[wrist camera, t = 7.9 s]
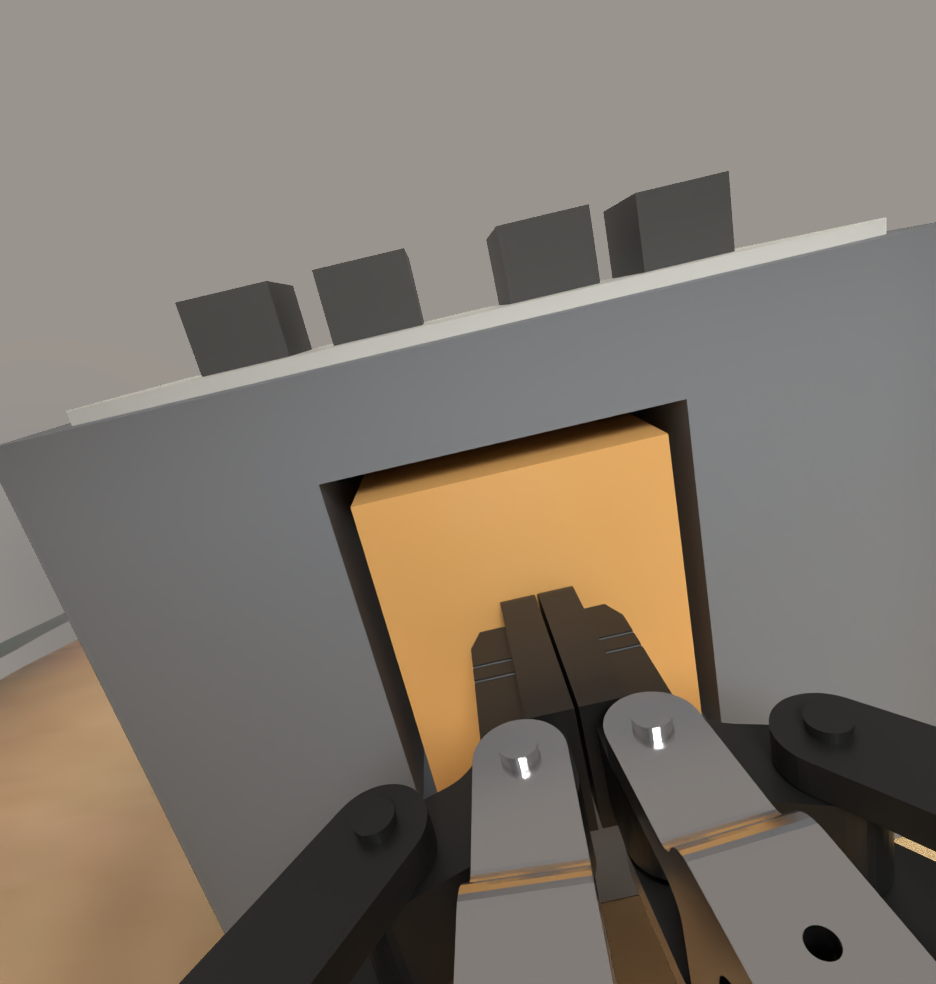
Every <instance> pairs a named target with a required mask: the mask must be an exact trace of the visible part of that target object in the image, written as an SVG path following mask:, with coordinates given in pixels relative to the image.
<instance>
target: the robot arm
mask: <svg viewBox="0 0 936 984" xmlns="http://www.w3.org/2000/svg"><path fill="white" fill-rule="evenodd" d="M537 597H538V603H539V605H538V603H537V600H536V597H535V595H530V596H525V597H521V598H517V599H512V600H508V601H503V602H500V605H501V609H502V614H503V619H504V623H505V627H501V628H496V629H492V630H487V631H483V632H480V633H479V635H478V637H477V639H476V640H475V642H474V644H473V646H472V648H471V654H472V664H473V674H474V682H475V693H476V703H477V713H478V722H479V732H480V742H479V743H478V745H477V747H476V748H475V751H474V754H473V765H472V766H471V768H470V769H469V770H468V771H467V772H466V773H465V774H464V775H463V776H462V777H461V778H460V779H459V780H458V781H456V782H455V783H454V784H452V785H450V786H449V787H447V788H445V789H443V790H441V791H439V792H437V793H435V794H434V795H432V796H430V797H428V798H426V799H423V798H422V796H421V795H420V794H419V793H418V792H417V791H416V790H414V789H413V788H411V787H408V786H405V785H400V784H386V785H381V786H377V787H374V788H371V789H369V790H367V791H364V792H362V793H361V794H359V795H357V796H356V797H354V798H353V799H352V800H350V801H349V802H348V803H347V804H346V805H345V806H344V807H343V808H342V809H341V810H340V811H339V812H338V813H337V814H336V815H335V816H334V817H333V818H332V819H331V821H330V822H329V823H328V824H327V825H326V826H325V827H324V828H323V829H322V830H321V831H320V832H319V833H318V835H317V836H316V837H315V838H314V839H313V840H312V841H311V842H310V843H309V844H308V845H307V846H306V847H305V849H304V850H303V851H302V852H301V853H300V854H299V855H298V856H297V857H296V858H295V859H294V860H293V861H292V863H291V864H290V865H289V866H288V867H287V868H286V869H285V870H284V871H283V872H282V873H281V874H280V875H279V877H278V878H277V879H276V880H275V881H274V882H273V883H272V884H271V885H270V886H269V887H268V888H267V890H266V891H265V892H264V893H263V894H262V895H261V896H260V897H259V898H258V899H257V900H256V901H255V902H254V904H253V905H252V906H251V907H250V908H249V909H248V910H247V911H246V912H245V913H244V914H243V915H242V916H241V918H240V919H239V920H238V921H237V922H236V923H235V924H234V925H233V926H232V927H231V928H230V929H229V930H228V932H227V933H226V934H225V935H224V936H223V937H222V938H221V939H220V940H219V941H218V942H217V943H216V944H215V946H214V947H213V948H212V949H211V950H210V951H209V952H208V953H207V954H206V955H205V956H204V957H203V958H202V960H201V961H200V962H199V963H198V964H197V965H196V966H195V967H194V968H193V969H192V970H191V971H190V973H189V974H188V975H187V976H186V977H185V978H184V979H183V980H182V981H181V982H180V983H179V984H616V979H615V974H614V969H613V964H612V959H611V954H610V949H609V944H608V939H607V934H606V929H605V924H604V919H603V914H602V908H601V903H600V898H599V893H598V888H597V883H596V879H595V874H596V858H595V852H594V848H593V843H592V838H591V833H590V832H591V831H596V830H599V829H598V824H597V819H596V814H595V809H594V804H593V800H594V803H595V806H596V809H597V812H598V815H599V819H600V822H601V825H602V828H608V827H613V826H617V825H618V827H619V830H620V833H621V836H622V839H623V841H624V844H625V849H626V854H627V859H628V865H629V870H630V874H631V877H632V879H633V882H634V884H635V886H636V889H637V891H638V893H639V895H640V898H641V900H642V902H643V905H644V907H645V909H646V912H647V914H648V916H649V919H650V921H651V923H652V926H653V928H654V930H655V933H656V935H657V937H658V939H659V942H660V944H661V946H662V949H663V951H664V953H665V956H666V958H667V960H668V963H669V965H670V967H671V970H672V972H673V974H674V977H675V979H676V981H677V983H678V984H936V862H935V861H933V860H931V859H929V858H927V857H924V856H922V855H920V854H918V853H916V852H914V851H911V850H909V849H907V848H905V847H903V846H901V845H898V844H896V843H894V833H896V834H898V835H900V836H903V837H905V838H907V839H909V840H912V841H914V842H916V843H918V844H920V845H923V846H925V847H927V848H929V849H931V850H934V851H936V726H933V725H930V724H927V723H923V722H920V721H917V720H914V719H911V718H908V717H905V716H902V715H899V714H895V713H892V712H889V711H886V710H883V709H880V708H877V707H874V706H871V705H867V704H864V703H861V702H858V701H855V700H852V699H849V698H845V697H842V696H838V695H832V694H826V693H804V694H797V695H794V696H790V697H788V698H785V699H783V700H782V701H780V702H779V703H777V704H776V705H775V706H774V707H773V709H772V711H771V712H770V715H769V725H764V724H732V723H722V722H717V721H713V720H709V719H705V718H703V716H702V715H701V714H700V712H699V711H698V710H697V709H696V708H695V707H694V706H693V705H692V704H690V703H689V702H688V701H686V700H684V699H682V698H681V697H678V696H675V695H673V694H672V693H671V691H670V690H669V688H668V687H667V685H666V683H665V682H664V680H663V678H662V677H661V675H660V674H659V672H658V670H657V669H656V667H655V666H654V664H653V662H652V661H651V659H650V657H649V656H648V654H647V653H646V651H645V649H644V648H643V646H641V643H640V641H639V640H638V638H637V636H636V635H635V633H633V630H632V628H631V627H630V625H629V623H628V622H627V620H626V619H625V617H624V615H623V614H621V613H619V612H618V611H616V610H614V609H613V608H611V607H609V606H607V605H606V604H602V605H597V606H593V607H588V608H583V606H582V604H581V602H580V599H579V597H578V595H577V593H576V591H575V589H574V588H573V586H569V587H564V588H560V589H556V590H551V591H547V592H542V593H538V594H537ZM539 607H540V608H539ZM592 797H593V799H592Z"/></svg>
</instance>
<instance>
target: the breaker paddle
mask: <svg viewBox="0 0 936 984" xmlns="http://www.w3.org/2000/svg"><path fill="white" fill-rule="evenodd" d="M351 511H352V514H353V517H354V521H355V524H356V527H357V530H358V534H359V537H360V540H361V544H362V547H363V550H364V553H365V557H366V560H367V563H368V566H369V570H370V573H371V576H372V580H373V583H374V586H375V589H376V593H377V596H378V599H379V602H380V606H381V609H382V612H383V616H384V619H385V622H386V625H387V629H388V632H389V635H390V638H391V642H392V645H393V648H394V652H395V655H396V658H397V661H398V665H399V668H400V671H401V675H402V678H403V681H404V684H405V688H406V691H407V694H408V697H409V701H410V704H411V707H412V711H413V714H414V717H415V720H416V724H417V727H418V730H419V733H420V737H421V740H422V743H423V747H424V750H425V753H426V756H427V760H428V763H429V766H430V769H431V773H432V776H433V779H434V783H435V786H436V789H437V792H439V791H441V790H443V789H445V788H447V787H449V786H450V785H452V784H454V783H455V782H456V781H458V780H459V779H460V778H461V777H462V776H463V775H464V774H465V773H466V772H467V771H468V770H469V769H470V768H471V766H472V765H473V754H474V751H475V748H476V747H477V745H478V743H479V742H480V732H479V722H478V713H477V703H476V693H475V682H474V674H473V664H472V654H471V648H472V646H473V644H474V642H475V640H476V639H477V637H478V635H479V633H480V632H483V631H487V630H492V629H496V628H501V627H505V623H504V619H503V614H502V609H501V605H500V602H503V601H508V600H512V599H517V598H521V597H525V596H530V595H535V597H536V600H537V603H538V597H537V594H538V593H542V592H547V591H551V590H556V589H560V588H564V587H569V586H573V588H574V589H575V591H576V593H577V595H578V597H579V599H580V602H581V604H582V606H583V608H588V607H593V606H597V605H602V604H606V605H607V606H609V607H611V608H613V609H614V610H616V611H618V612H619V613H621V614H623V615H624V617H625V619H626V620H627V622H628V623H629V625H630V627H631V628H632V630H633V633H635V635H636V636H637V638H638V640H639V641H640V643H641V646H643V648H644V649H645V651H646V653H647V654H648V656H649V657H650V659H651V661H652V662H653V664H654V666H655V667H656V669H657V670H658V672H659V674H660V675H661V677H662V678H663V680H664V682H665V683H666V685H667V687H668V688H669V690H670V691H671V693H672V694H673V695H675V696H678V697H681V698H682V699H684V700H686V701H688V702H689V703H690V704H692V705H693V706H694V707H695V708H696V709H697V710H698V711H699V712H700V714H701V715H702V712H701V704H700V696H699V687H698V679H697V671H696V662H695V654H694V645H693V637H692V629H691V620H690V612H689V604H688V595H687V587H686V579H685V570H684V562H683V554H682V545H681V537H680V528H679V520H678V512H677V503H676V495H675V487H674V478H673V470H672V462H671V453H670V445H669V437H668V433H666V432H664V431H662V430H660V429H658V428H656V427H654V426H652V425H651V424H649V423H647V422H645V421H643V420H641V419H639V418H637V417H635V416H633V415H632V414H630V413H625V414H620V415H616V416H612V417H607V418H603V419H599V420H594V421H590V422H586V423H582V424H577V425H573V426H569V427H564V428H560V429H556V430H552V431H547V432H543V433H539V434H534V435H530V436H526V437H521V438H517V439H513V440H509V441H504V442H500V443H496V444H491V445H487V446H483V447H478V448H474V449H470V450H466V451H461V452H457V453H453V454H448V455H444V456H440V457H435V458H431V459H427V460H423V461H418V462H414V463H410V464H405V465H401V466H397V467H392V468H388V469H384V470H380V471H375V472H371V473H367V474H365V475H364V477H363V479H362V482H361V484H360V486H359V489H358V491H357V493H356V496H355V498H354V500H353V503H352V505H351ZM538 605H539V603H538ZM539 608H540V607H539Z"/></svg>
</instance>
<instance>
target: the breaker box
mask: <svg viewBox="0 0 936 984" xmlns="http://www.w3.org/2000/svg"><path fill="white" fill-rule="evenodd" d="M604 219H605V226H606V234H607V241H608V248H609V255H610V263H611V270H612V277H613V278H609V279H605V280H601V281H600V279H599V272H598V265H597V258H596V251H595V244H594V237H593V231H592V223H591V218H590V210H589V205H584V206H579V207H575V208H571V209H567V210H563V211H558V212H555V213H550V214H546V215H542V216H538V217H533V218H529V219H525V220H521V221H517V222H512V223H508V224H504V225H500V226H496V227H495V229H494V230H493V232H492V233H491V234H490V236H489V237H488V238H487V245H488V250H489V255H490V260H491V265H492V271H493V275H494V279H495V286H496V290H497V295H498V301H499V305H495V306H490V307H486V308H482V309H478V310H473V311H469V312H465V313H461V314H456V315H452V316H448V317H444V318H439V319H435V320H431V321H427V322H424V320H423V316H422V312H421V308H420V303H419V299H418V295H417V291H416V287H415V283H414V278H413V274H412V270H411V266H410V262H409V258H408V256H407V254H406V252H405V250H404V249H399V250H395V251H391V252H387V253H382V254H378V255H374V256H370V257H365V258H361V259H357V260H353V261H349V262H344V263H340V264H336V265H332V266H328V267H323V268H319V269H315V270H312V272H313V274H314V279H315V282H316V285H317V289H318V292H319V296H320V299H321V303H322V306H323V310H324V313H325V317H326V320H327V324H328V327H329V330H330V334H331V338H332V341H333V344H329V345H325V346H321V347H317V348H311V345H310V341H309V338H308V335H307V332H306V328H305V325H304V321H303V318H302V315H301V311H300V308H299V305H298V302H297V298H296V295H295V291H294V288H293V286H290V285H285V284H279V283H274V282H269V281H265V282H261V283H256V284H252V285H248V286H244V287H240V288H235V289H231V290H227V291H223V292H219V293H215V294H210V295H207V296H202V297H198V298H193V299H189V300H185V301H181V302H177V303H176V306H177V309H178V312H179V314H180V317H181V320H182V323H183V326H184V328H185V331H186V334H187V337H188V339H189V342H190V345H191V347H192V350H193V353H194V356H195V359H196V361H197V364H198V367H199V370H200V372H201V375H198V376H194V377H190V378H186V379H183V380H179V381H175V382H171V383H168V384H164V385H160V386H156V387H153V388H149V389H145V390H142V391H138V392H134V393H131V394H127V395H123V396H119V397H116V398H112V399H108V400H105V401H101V402H97V403H94V404H90V405H86V406H82V407H79V408H75V409H72V410H68V411H66V413H67V416H68V418H69V420H70V423H69V424H66V425H63V426H59V427H56V428H53V429H50V430H47V431H43V432H40V433H37V434H33V435H30V436H27V437H23V438H20V439H17V440H14V441H11V442H7V443H4V444H1V445H0V483H1V485H2V487H3V489H4V491H5V493H6V495H7V497H8V499H9V501H10V503H11V505H12V507H13V509H14V511H15V513H16V515H17V517H18V519H19V521H20V523H21V525H22V527H23V529H24V531H25V533H26V535H27V537H28V539H29V541H30V543H31V545H32V547H33V549H34V551H35V553H36V555H37V557H38V559H39V561H40V563H41V565H42V567H43V569H44V571H45V573H46V575H47V577H48V579H49V581H50V583H51V585H52V587H53V589H54V591H55V593H56V595H57V597H58V599H59V601H60V603H61V605H62V607H63V609H64V611H65V614H66V616H67V618H68V620H69V622H70V624H71V626H72V627H73V630H74V632H75V634H76V635H77V638H78V640H79V642H80V644H81V646H82V648H83V650H84V652H85V654H86V656H87V658H88V660H89V662H90V664H91V666H92V668H93V670H94V672H95V674H96V676H97V678H98V680H99V682H100V684H101V686H102V688H103V690H104V692H105V694H106V696H107V698H108V700H109V702H110V704H111V706H112V708H113V710H114V712H115V714H116V716H117V718H118V720H119V722H120V724H121V726H122V728H123V730H124V732H125V734H126V736H127V738H128V740H129V742H130V744H131V746H132V748H133V750H134V752H135V754H136V756H137V758H138V760H139V762H140V764H141V766H142V768H143V770H144V772H145V774H146V776H147V778H148V780H149V782H150V784H151V786H152V788H153V790H154V792H155V794H156V796H157V798H158V800H159V802H160V804H161V806H162V809H163V811H164V813H165V815H166V817H167V819H168V821H169V823H170V825H171V827H172V829H173V831H174V833H175V835H176V837H177V839H178V841H179V843H180V845H181V847H182V849H183V851H184V853H185V855H186V857H187V859H188V861H189V863H190V865H191V867H192V869H193V871H194V873H195V875H196V877H197V879H198V881H199V883H200V885H201V887H202V889H203V891H204V893H205V895H206V897H207V899H208V901H209V903H210V905H211V907H212V909H213V911H214V913H215V915H216V917H217V919H218V921H219V923H220V925H221V927H222V929H223V931H224V933H225V934H226V933H227V932H228V930H229V929H230V928H231V927H232V926H233V925H234V924H235V923H236V922H237V921H238V920H239V919H240V918H241V916H242V915H243V914H244V913H245V912H246V911H247V910H248V909H249V908H250V907H251V906H252V905H253V904H254V902H255V901H256V900H257V899H258V898H259V897H260V896H261V895H262V894H263V893H264V892H265V891H266V890H267V888H268V887H269V886H270V885H271V884H272V883H273V882H274V881H275V880H276V879H277V878H278V877H279V875H280V874H281V873H282V872H283V871H284V870H285V869H286V868H287V867H288V866H289V865H290V864H291V863H292V861H293V860H294V859H295V858H296V857H297V856H298V855H299V854H300V853H301V852H302V851H303V850H304V849H305V847H306V846H307V845H308V844H309V843H310V842H311V841H312V840H313V839H314V838H315V837H316V836H317V835H318V833H319V832H320V831H321V830H322V829H323V828H324V827H325V826H326V825H327V824H328V823H329V822H330V821H331V819H332V818H333V817H334V816H335V815H336V814H337V813H338V812H339V811H340V810H341V809H342V808H343V807H344V806H345V805H346V804H347V803H348V802H349V801H350V800H352V799H353V798H354V797H356V796H357V795H359V794H361V793H362V792H364V791H367V790H369V789H371V788H374V787H377V786H381V785H386V784H400V785H405V786H408V787H411V788H413V789H414V790H416V791H417V792H418V793H419V794H420V795H421V796H422V798H423V799H426V798H428V797H430V796H432V795H434V794H435V793H437V789H436V786H435V783H434V779H433V776H432V773H431V769H430V766H429V763H428V760H427V756H426V753H425V750H424V747H423V743H422V740H421V737H420V733H419V730H418V727H417V724H416V720H415V717H414V714H413V711H412V707H411V704H410V701H409V697H408V694H407V691H406V688H405V684H404V681H403V678H402V675H401V671H400V668H399V665H398V661H397V658H396V655H395V652H394V648H393V645H392V642H391V638H390V635H389V632H388V629H387V625H386V622H385V619H384V616H383V612H382V609H381V606H380V602H379V599H378V596H377V593H376V589H375V586H374V583H373V580H372V576H371V573H370V570H369V566H368V563H367V560H366V557H365V553H364V550H363V547H362V544H361V540H360V537H359V534H358V530H357V527H356V524H355V521H354V517H353V514H352V511H351V505H352V503H353V500H354V498H355V496H356V493H357V491H358V489H359V486H360V484H361V482H362V479H363V477H364V475H365V474H367V473H371V472H375V471H380V470H384V469H388V468H392V467H397V466H401V465H405V464H410V463H414V462H418V461H423V460H427V459H431V458H435V457H440V456H444V455H448V454H453V453H457V452H461V451H466V450H470V449H474V448H478V447H483V446H487V445H491V444H496V443H500V442H504V441H509V440H513V439H517V438H521V437H526V436H530V435H534V434H539V433H543V432H547V431H552V430H556V429H560V428H564V427H569V426H573V425H577V424H582V423H586V422H590V421H594V420H599V419H603V418H607V417H612V416H616V415H620V414H625V413H630V414H632V415H633V416H635V417H637V418H639V419H641V420H643V421H645V422H647V423H649V424H651V425H652V426H654V427H656V428H658V429H660V430H662V431H664V432H666V433H668V437H669V445H670V453H671V462H672V470H673V478H674V487H675V495H676V503H677V512H678V520H679V528H680V537H681V545H682V554H683V562H684V570H685V579H686V587H687V595H688V604H689V612H690V620H691V629H692V637H693V645H694V654H695V662H696V671H697V679H698V687H699V696H700V704H701V712H702V716H703V718H705V719H709V720H713V721H717V722H722V723H732V724H764V725H769V715H770V712H771V711H772V709H773V707H774V706H775V705H776V704H777V703H779V702H780V701H782V700H783V699H785V698H788V697H790V696H794V695H797V694H804V693H826V694H832V695H838V696H842V697H845V698H849V699H852V700H855V701H858V702H861V703H864V704H867V705H871V706H874V707H877V708H880V709H883V710H886V711H889V712H892V713H895V714H899V715H902V716H905V717H908V718H911V719H914V720H917V721H920V722H923V723H927V724H930V725H933V726H936V222H935V223H930V224H924V225H919V226H913V227H907V228H902V229H897V230H891V231H886V217H885V218H881V219H876V220H871V221H866V222H861V223H856V224H852V225H847V226H842V227H837V228H832V229H828V230H823V231H819V232H813V233H808V234H804V235H799V236H794V237H790V238H784V239H780V240H775V241H770V242H765V243H760V244H756V245H751V246H746V247H741V248H737V249H734V238H733V224H732V210H731V197H730V183H729V171H726V172H722V173H718V174H714V175H710V176H705V177H701V178H697V179H693V180H689V181H685V182H680V183H676V184H672V185H668V186H664V187H659V188H655V189H651V190H647V191H642V192H638V193H635V194H633V195H631V196H630V197H628V198H626V199H625V200H623V201H621V202H619V203H618V204H616V205H614V206H613V207H611V208H609V209H608V210H606V211H604ZM592 799H593V797H592ZM593 804H594V809H595V814H596V819H597V824H598V829H599V830H596V831H591V832H590V833H591V838H592V843H593V848H594V852H595V858H596V874H595V879H596V883H597V888H598V893H599V898H600V903H603V902H607V901H612V900H616V899H621V898H625V897H630V896H634V895H639V893H638V891H637V889H636V886H635V884H634V882H633V879H632V877H631V874H630V870H629V865H628V859H627V854H626V849H625V844H624V841H623V839H622V836H621V833H620V830H619V827H618V825H617V826H613V827H608V828H602V825H601V822H600V819H599V815H598V812H597V809H596V806H595V803H594V800H593ZM898 837H902V836H900V835H898V834H896V833H894V838H898Z"/></svg>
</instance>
